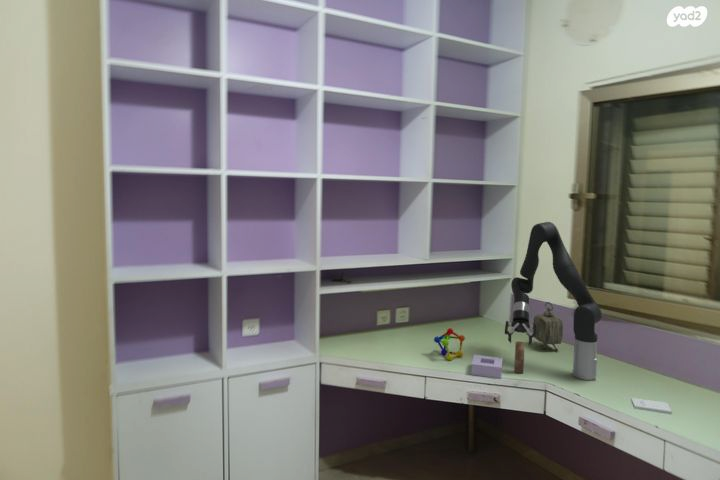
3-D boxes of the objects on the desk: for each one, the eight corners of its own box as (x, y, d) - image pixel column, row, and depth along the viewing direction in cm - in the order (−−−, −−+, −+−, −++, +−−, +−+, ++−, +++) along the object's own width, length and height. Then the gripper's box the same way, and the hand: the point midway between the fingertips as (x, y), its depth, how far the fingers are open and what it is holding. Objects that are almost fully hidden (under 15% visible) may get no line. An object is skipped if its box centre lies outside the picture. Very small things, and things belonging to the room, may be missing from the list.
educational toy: (442, 352, 252) (445, 323, 251) (465, 358, 244) (467, 328, 243) (427, 357, 240) (430, 327, 239) (450, 363, 232) (453, 332, 231)
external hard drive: (671, 415, 183) (634, 409, 187) (666, 406, 190) (631, 400, 195) (671, 411, 183) (634, 405, 187) (667, 402, 190) (631, 396, 195)
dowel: (523, 371, 224) (524, 342, 222) (523, 374, 220) (524, 344, 219) (514, 370, 225) (515, 341, 224) (514, 373, 221) (515, 343, 220)
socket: (501, 368, 227) (502, 358, 227) (501, 378, 215) (501, 367, 214) (473, 364, 231) (474, 354, 231) (471, 374, 219) (471, 364, 218)
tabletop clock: (561, 352, 251) (564, 305, 248) (545, 353, 249) (548, 306, 247) (546, 343, 265) (549, 299, 262) (531, 344, 263) (533, 299, 261)
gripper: (506, 307, 235) (504, 337, 225) (537, 310, 230) (536, 340, 221) (505, 315, 240) (503, 345, 231) (536, 318, 236) (535, 348, 226)
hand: (519, 343), depth 226 cm, fingers open, 8 cm apart
